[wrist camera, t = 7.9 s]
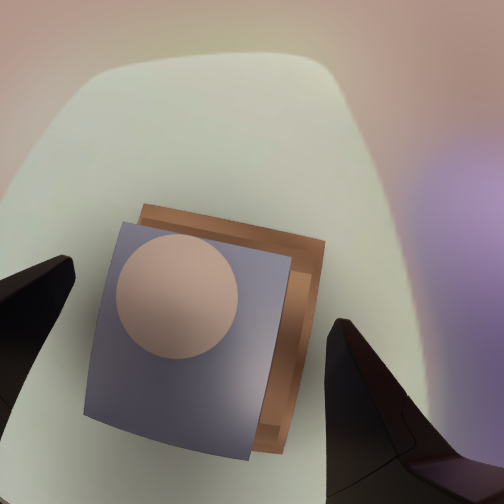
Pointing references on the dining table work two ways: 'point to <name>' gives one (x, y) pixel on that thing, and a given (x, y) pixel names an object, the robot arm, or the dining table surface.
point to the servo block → (186, 340)
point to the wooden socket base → (293, 312)
